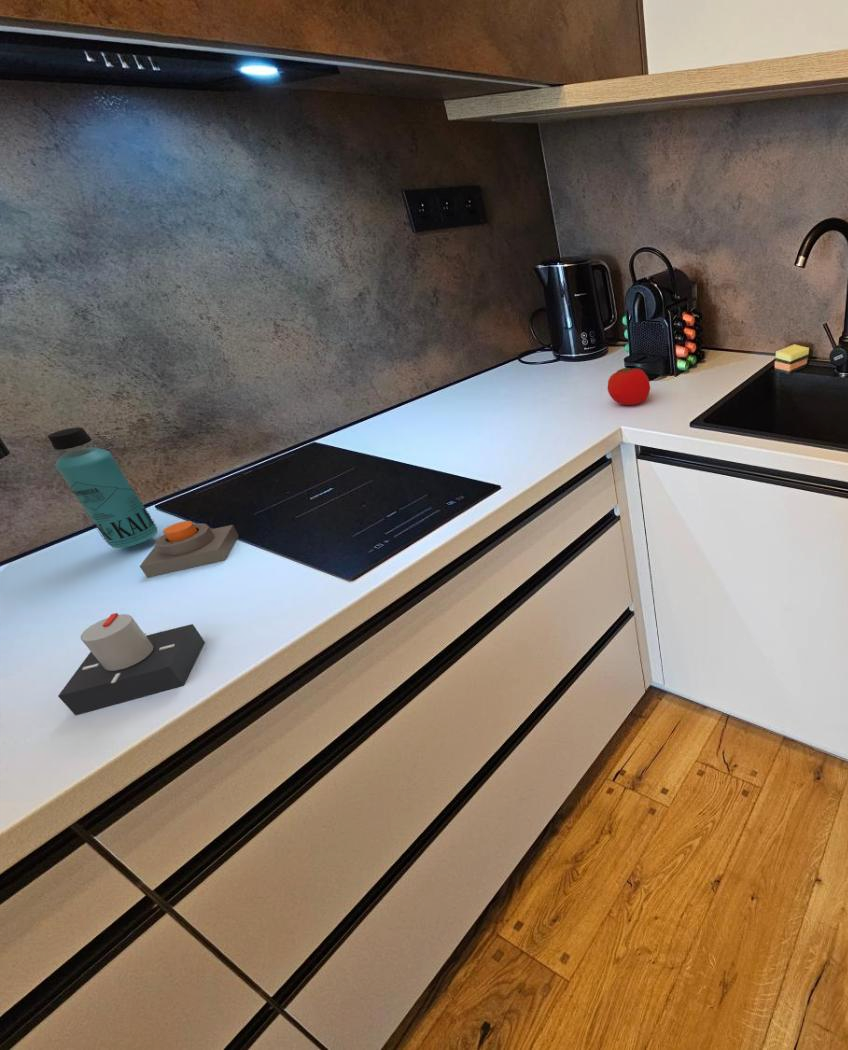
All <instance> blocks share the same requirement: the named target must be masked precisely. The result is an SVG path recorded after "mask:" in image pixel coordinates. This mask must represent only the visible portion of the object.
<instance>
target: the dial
mask: <svg viewBox="0 0 848 1050" xmlns="http://www.w3.org/2000/svg"><path fill="white" fill-rule="evenodd" d="M146 635H147V634H146ZM146 635H145V634H144V631H143V630H142V629H141V627H140V626H139V624H138V622H137V621H136V620H135V619H134V617H133V616H132V615H131V614H126V613H124V614H119V613H118V612H115V613H111V614H110V615H109V617H106V618H104V619H101V620H99V621H97V622H94V623H93V624H91V625H90V626H89V627H88V628H85V630H84V631H83V632H82V633H81V634H80V640H81V641H82V642H83V644H84V645H85V646H86V648H88V650H89V651H90V652H92V653H93V655H94V656H95V657H96V658H97V660H98V661H99V662H100V663H101V664H102V666H103V667H104V668H105V669H106V670H109V671H116V670H121V669H125V668H128V667H130V666H133V665H135V664H137V663H139V662H140V661H142V660H143V659H145V658H146V657H147V656H149V655H150V654H151V652H152V651H153V645H152V644H151V642H150V641H149V639H148V638H147V637H146Z"/></svg>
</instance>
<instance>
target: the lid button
mask: <svg viewBox="0 0 848 1050" xmlns="http://www.w3.org/2000/svg"><path fill="white" fill-rule="evenodd" d="M194 524H195V523H193V521H191V520H185V521H184V520H183V521H180V522H176V523H173V524H170V525H168V526H167V527H166V528H164V529H163V531H162V533H163V535H164V534H165V536H166V537H167V539H168V540H169V542H176V541H181V540H184V539H187V538H189V537H192V536H193V535H195V534H196V533H198V531H197V529H196V528H195V526H194Z"/></svg>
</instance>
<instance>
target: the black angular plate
mask: <svg viewBox="0 0 848 1050" xmlns="http://www.w3.org/2000/svg"><path fill="white" fill-rule="evenodd" d="M143 633H144V632H143ZM144 634H145V635H146V637H147V638H148V639H149V641H150V642H151V644H152V645H153V651H152V652H151V654H150V655H149V656H147V657H146V658H145V659H143V660H142V661H140V662H139V663H137V664H135V665H133V666H130V667H128V668H125V669H121V670H116V671H109V670H106V669H105V668H104V667H103V666H102V664H101V663H100V662H99V661H98V660H97V658H96V657H95V656H94V655H93V653H92V652H91V651H90V652H89V653H88V654H87V656H86V657H85V658H84V660H83V661H82V662H81V664H80V665H79V666H78V668H77V669H76V670H75V672H74V674H73V675H71V678H70V679H69V680H68V682H67V683H66V684H65V686H64V687H63V689H62V690H61V691H60V692H59V694H58V696H57V697H58V698H59V699H60V700H61V702H63V703H64V705H65V706H66V707H67V708H68V709H69V710H70V711H71V712H72V714H73V715H74V716H78V715H81V714H86V713H88V712H92V711H96V710H100V709H104V708H106V707H111V706H114V705H117V704H118V705H119V704H122V703H126V702H128V701H132V700H137V699H140V698H142V697H147V696H150V695H154V694H158V693H162V692H165V691H169V690H172V689H176V688H180V687H184V685H185V683H186V681H187V679H188V677H189V675H190V673H191V671H192V669H193V667H194V665H195V663H196V661H197V659H198V657H199V655H200V653H201V651H202V649H203V647H204V645H205V642H206V641H205V640H204V638H203V637H202V636H201V634H200V632H199V631H198V629H197V628H196V627H195V625H194V624H193V623H190V624H187V625H182V626H178V627H175V628H171V629H167V630H162V631H159V632H155V633H151V634H147V633H146V632H145V633H144Z"/></svg>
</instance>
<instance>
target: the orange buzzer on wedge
mask: <svg viewBox="0 0 848 1050" xmlns="http://www.w3.org/2000/svg"><path fill="white" fill-rule="evenodd" d="M193 524H194V526H195V528H196V529H197V531H198V533H196V534H195V535H193V536H192V537H189V538H187V539H184V540H181V541H176V542H169V540H168V539H167V537H166V536H165V534H164V533H163V534H162V535H161V536H158V538H157V539H156V540H155V542H154V543H155V546H154V547H153V548H152V549H151V551H150V552H149V553H148V555H147V556H146V557H145V558H144V560H143V561H142V562H141V564H140V565H139V568H140V569H141V570H142V572H143V574H144V575H145V577H146V578H147V579H150V578H155V577H158V576H163V575H168V574H173V573H177V572H180V571H186V570H189V569H194V568H198V567H204V566H208V565H211V564H217V563H222V562H226V560H227V559H228V557H229V555H230V553H231V551H232V550H233V548H234V546H235V545H236V543H237V541H238V539H239V537H240V535H239V533H238V531H237V529H236V527H235V526H234V524H230V525H224V526H220V527H214V528H210V526H209V525H208V524H207V523H193Z"/></svg>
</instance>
